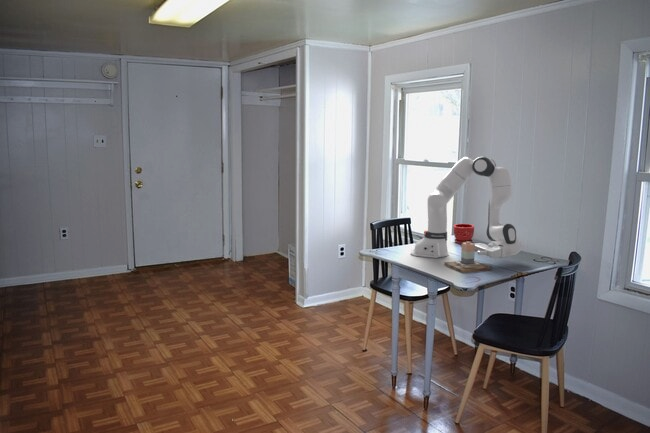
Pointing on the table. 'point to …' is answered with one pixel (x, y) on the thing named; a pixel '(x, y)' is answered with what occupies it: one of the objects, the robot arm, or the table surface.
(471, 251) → the brick tower
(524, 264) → the table surface
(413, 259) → the table surface
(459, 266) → the socket board
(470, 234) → the plant pot
